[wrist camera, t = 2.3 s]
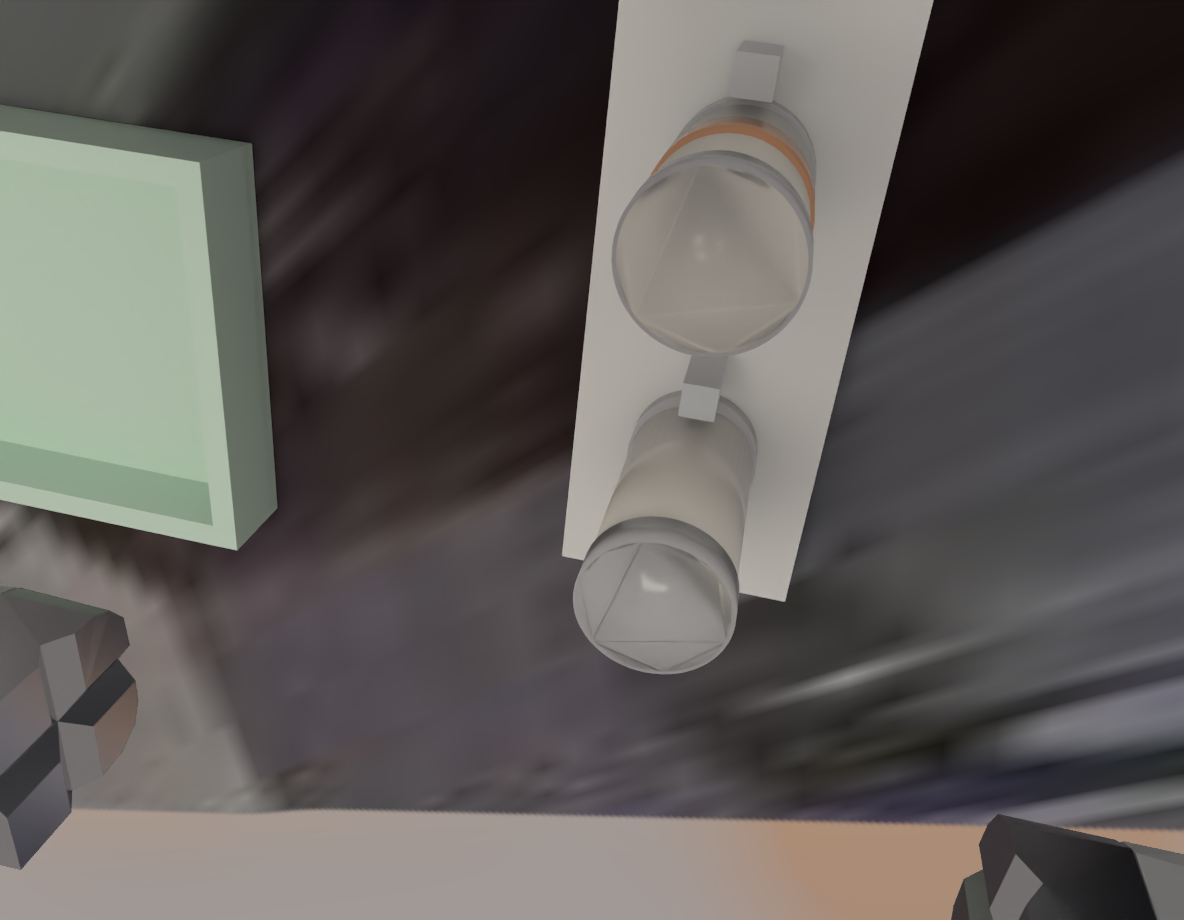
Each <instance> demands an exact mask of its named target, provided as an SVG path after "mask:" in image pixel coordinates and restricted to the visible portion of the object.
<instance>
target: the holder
mask: <svg viewBox="0 0 1184 920" xmlns="http://www.w3.org/2000/svg"><path fill="white" fill-rule="evenodd" d="M932 4H933V0H619V7H618V16H617V26H616V36H615V45H614V55H613V65H612V75H611V84H610V94H609V104H608V114H607V123H606V133H605V143H604V152H603V162H602V172H601V182H600V191H599V201H598V211H597V221H596V230H595V240H594V250H593V259H592V269H591V279H590V289H589V298H588V308H587V318H586V328H585V337H584V347H583V357H582V366H581V376H580V386H579V396H578V405H577V415H576V425H575V435H574V444H573V454H572V464H571V473H570V483H569V493H568V503H567V512H566V522H565V532H564V542H563V551H562V556H565V557H569V558H574V559H579V560H584V559H585V556H586V554H587V551H588V550H589V548H590V546H591V545H592V543H593V542H594V541H595V540H596V537H597V534H598V532H599V529H600V526H601V524H602V521H603V518H604V516H605V513H606V510H607V508H608V505H609V503H610V500H611V497H612V495H613V492H614V489H615V487H616V484H617V481H618V479H619V476H620V473H621V471H622V468H623V466H624V463H625V460H626V458H627V451H628V446H629V442H630V439H631V437H632V434H633V431H634V429H635V426H636V424H637V421H638V419H639V418H640V416H641V414H642V413H643V412H644V410H645V409H646V408H647V407H648V406H649V405H650V404H651V403H653V402H654V401H655V400H657V399H658V398H660V397H662V396H664V395H666V394H669V393H672V392H676V391H680V390H682V393H681V400H680V406H679V412H678V416H681V417H687V418H692V419H698V420H703V421H708V422H714V420H715V416H716V412H717V407H718V403H719V398H720V396H722V397H724V398H726V399H728V400H730V401H731V402H733V403H734V404H735V405H736V406H738V407H739V408H740V409H741V410H742V411H743V412H744V413H745V415H746V416H747V417H748V419H749V420H750V422H751V424H752V426H753V428H754V430H755V434H756V437H757V443H758V454H757V461H756V469H755V475H754V479H753V482H752V484H751V486H750V492H749V500H748V507H747V515H746V522H745V529H744V537H743V544H742V552H741V559H740V566H739V574H738V579H739V590H740V593H744V594H749V595H754V596H759V597H764V598H769V599H774V600H779V601H783V602H785V599H786V595H787V591H788V587H789V583H790V579H791V575H792V571H793V567H794V563H795V559H796V555H797V551H798V547H799V543H800V539H801V535H802V531H803V527H804V522H805V518H806V514H807V510H808V506H809V502H810V498H811V494H812V490H813V486H814V482H815V478H816V474H817V470H818V466H819V462H820V458H821V454H822V450H823V446H824V442H825V437H826V433H827V429H828V425H829V421H830V417H831V413H832V409H833V405H834V401H835V397H836V393H837V389H838V385H839V381H840V377H841V373H842V369H843V365H844V361H845V357H846V352H847V348H848V344H849V340H850V336H851V332H852V328H853V324H854V320H855V316H856V312H857V308H858V304H859V300H860V296H861V292H862V288H863V284H864V280H865V276H866V272H867V267H868V263H869V259H870V255H871V251H872V247H873V243H874V239H875V235H876V231H877V227H878V223H879V219H880V215H881V211H882V207H883V203H884V199H885V195H886V191H887V187H888V182H889V178H890V174H891V170H892V166H893V162H894V158H895V154H896V150H897V146H898V142H899V138H900V134H901V130H902V126H903V122H904V118H905V114H906V110H907V106H908V101H909V97H910V93H911V89H912V85H913V81H914V77H915V73H916V69H917V65H918V61H919V57H920V53H921V49H922V45H923V41H924V37H925V33H926V29H927V25H928V21H929V16H930V12H931V8H932ZM727 97H734V98H741V99H748V100H756V101H763V102H770V103H772V101H775V102H777V103H779V104H781V105H783V106H784V107H785V108H787V109H788V110H790V111H791V112H792V113H793V114H794V115H795V116H796V117H797V118H798V119H799V120H800V122H801V123H802V124H803V125H804V127H805V129H806V130H807V132H808V134H809V136H810V138H811V141H812V143H813V147H814V151H815V156H816V184H815V222H814V229H813V239H814V247H813V270H812V276H811V282H810V285H809V288H808V292H807V294H806V297H805V299H804V301H803V303H802V305H801V307H800V308H799V310H798V312H797V313H796V315H795V316H794V318H793V319H792V320H791V321H790V322H789V324H788V325H787V326H786V327H785V328H784V329H783V330H782V331H781V332H780V333H779V334H777V335H776V336H775V337H773V338H772V339H770V340H769V341H768V342H766V343H764V344H762V345H761V346H759V347H757V348H755V349H752V350H749V351H747V352H744V353H740V354H737V355H733V356H726V357H700V356H693V355H689V354H685V353H681V352H678V351H676V350H673V349H671V348H669V347H667V346H665V345H663V344H661V343H659V342H658V341H656V340H655V339H653V338H652V337H650V336H649V335H648V334H647V333H646V332H645V331H643V330H642V329H641V328H640V327H639V326H638V325H637V323H636V322H635V321H634V320H633V319H632V318H631V316H630V315H629V313H628V312H627V310H626V309H625V307H624V305H623V303H622V301H621V299H620V297H619V295H618V292H617V289H616V286H615V283H614V278H613V273H612V262H611V257H612V245H613V239H614V234H615V231H616V228H617V225H618V222H619V220H620V218H621V216H622V214H623V212H624V210H625V209H626V207H627V205H628V204H629V202H630V201H631V199H632V198H633V197H634V195H635V194H636V193H637V191H638V190H639V188H640V187H641V186H642V185H643V184H644V183H645V181H646V180H647V179H648V178H649V177H650V174H651V173H652V171H653V170H654V168H655V167H656V165H657V164H658V162H659V161H660V160H661V158H662V157H663V155H664V154H665V153H666V151H667V150H668V149H669V148H670V146H671V145H672V144H673V143H674V142H675V140H676V138H677V137H678V135H679V134H680V132H681V131H682V129H683V128H684V127H685V125H686V124H687V123H688V122H689V121H690V119H691V118H692V117H693V116H694V115H696V114H697V113H698V112H699V111H700V110H702V109H703V108H705V107H706V106H708V105H710V104H711V103H713V102H715V101H718V100H721V99H724V98H727Z"/></svg>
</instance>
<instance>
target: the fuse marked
mask: <svg viewBox="0 0 1184 920" xmlns="http://www.w3.org/2000/svg"><path fill="white" fill-rule="evenodd" d="M815 184H816V156H815V151H814V147H813V143H812V141H811V138H810V136H809V134H808V132H807V130H806V129H805V127H804V125H803V124H802V123H801V122H800V120H799V119H798V118H797V117H796V116H795V115H794V114H793V113H792V112H791V111H790V110H788V109H787V108H785V107H784V106H783V105H781V104H779V103H777V102H775V101H772V103H770V102H763V101H756V100H748V99H741V98H734V97H727V98H724V99H721V100H718V101H715V102H713V103H711V104H710V105H708V106H706V107H705V108H703V109H702V110H700V111H699V112H698V113H697V114H696V115H694V116H693V117H692V118H691V119H690V121H689V122H688V123H687V124H686V125H685V127H684V128H683V129H682V131H681V132H680V134H679V135H678V137H677V138H676V140H675V142H674V143H673V144H672V145H671V146H670V148H669V149H668V150H667V151H666V153H665V154H664V155H663V157H662V158H661V160H660V161H659V162H658V164H657V165H656V167H655V168H654V170H653V171H652V173H651V174H650V177H649V178H648V179H647V180H646V181H645V183H644V184H643V185H642V186H641V187H640V188H639V190H638V191H637V193H636V194H635V195H634V197H633V198H632V199H631V201H630V202H629V204H628V205H627V207H626V209H625V210H624V212H623V214H622V216H621V218H620V220H619V222H618V225H617V228H616V231H615V234H614V239H613V245H612V257H611V262H612V273H613V278H614V283H615V286H616V289H617V292H618V295H619V297H620V299H621V301H622V303H623V305H624V307H625V309H626V310H627V312H628V313H629V315H630V316H631V318H632V319H633V320H634V321H635V322H636V323H637V325H638V326H639V327H640V328H641V329H642V330H643V331H645V332H646V333H647V334H648V335H649V336H650V337H652V338H653V339H655V340H656V341H658V342H659V343H661V344H663V345H665V346H667V347H669V348H671V349H673V350H676V351H678V352H681V353H685V354H689V355H693V356H700V357H726V356H733V355H737V354H740V353H744V352H747V351H749V350H752V349H755V348H757V347H759V346H761V345H762V344H764V343H766V342H768V341H769V340H770V339H772V338H773V337H775V336H776V335H777V334H779V333H780V332H781V331H782V330H783V329H784V328H785V327H786V326H787V325H788V324H789V322H790V321H791V320H792V319H793V318H794V316H795V315H796V313H797V312H798V310H799V308H800V307H801V305H802V303H803V301H804V299H805V297H806V294H807V292H808V288H809V285H810V282H811V276H812V270H813V247H814V239H813V229H814V222H815Z"/></svg>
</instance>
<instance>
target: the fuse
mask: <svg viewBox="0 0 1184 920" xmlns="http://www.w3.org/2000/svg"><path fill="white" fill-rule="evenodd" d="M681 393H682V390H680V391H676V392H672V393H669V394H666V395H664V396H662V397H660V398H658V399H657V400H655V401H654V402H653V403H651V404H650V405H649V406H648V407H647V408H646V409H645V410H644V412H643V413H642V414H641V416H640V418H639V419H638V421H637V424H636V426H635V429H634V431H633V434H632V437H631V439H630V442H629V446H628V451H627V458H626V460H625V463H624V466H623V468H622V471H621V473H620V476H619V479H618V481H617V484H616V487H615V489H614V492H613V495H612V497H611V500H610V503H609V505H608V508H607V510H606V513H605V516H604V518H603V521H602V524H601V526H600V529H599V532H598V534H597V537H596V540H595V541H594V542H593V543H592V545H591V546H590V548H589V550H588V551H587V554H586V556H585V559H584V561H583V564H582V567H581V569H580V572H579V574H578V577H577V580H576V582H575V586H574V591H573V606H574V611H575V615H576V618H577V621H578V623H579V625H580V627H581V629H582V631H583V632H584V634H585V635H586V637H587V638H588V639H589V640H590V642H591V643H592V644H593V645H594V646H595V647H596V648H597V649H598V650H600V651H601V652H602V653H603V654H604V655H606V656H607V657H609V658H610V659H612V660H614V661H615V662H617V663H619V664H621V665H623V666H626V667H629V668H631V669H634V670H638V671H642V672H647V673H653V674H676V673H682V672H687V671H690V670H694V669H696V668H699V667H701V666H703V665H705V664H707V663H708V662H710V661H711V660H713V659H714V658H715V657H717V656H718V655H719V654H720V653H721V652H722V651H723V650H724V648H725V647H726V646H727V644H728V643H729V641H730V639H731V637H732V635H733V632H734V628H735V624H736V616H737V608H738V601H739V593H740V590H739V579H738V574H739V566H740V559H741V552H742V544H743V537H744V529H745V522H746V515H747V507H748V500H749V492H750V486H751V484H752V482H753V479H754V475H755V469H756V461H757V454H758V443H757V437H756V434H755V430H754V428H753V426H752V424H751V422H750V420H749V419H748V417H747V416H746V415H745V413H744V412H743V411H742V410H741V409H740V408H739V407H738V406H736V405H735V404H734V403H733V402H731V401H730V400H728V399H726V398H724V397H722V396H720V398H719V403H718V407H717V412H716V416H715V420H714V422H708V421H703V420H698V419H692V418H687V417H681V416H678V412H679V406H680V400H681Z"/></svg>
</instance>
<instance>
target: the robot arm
mask: <svg viewBox="0 0 1184 920" xmlns="http://www.w3.org/2000/svg"><path fill="white" fill-rule="evenodd" d="M129 645H130V644H129V640H128V635H127V630H126V626H125V621H124V618H123V617H121V616H119V615H117V614H115V613H113V612H111V611H109V610H105V609H101V608H98V607H94V606H90V605H86V604H82V603H78V602H74V601H70V600H67V599H63V598H59V597H55V596H51V595H47V594H43V593H39V592H35V591H32V590H28V589H24V588H15V587H12V586H8V585H4V584H0V865H3V866H7V867H11V868H15V869H20V870H21V869H22V868H23V867H24V866H25V865H26V863H27V862H28V861H29V860H30V859H31V858H32V856H33V855H34V854H35V853H36V852H37V851H38V850H39V848H40V847H41V846H42V845H43V844H44V843H45V842H46V840H47V839H48V838H49V837H50V836H51V835H52V834H53V833H54V831H55V830H56V829H57V828H58V827H59V826H60V825H61V823H62V822H63V821H64V820H65V819H66V818H67V817H68V815H69V814H70V813H71V805H72V790H74V789H76V788H78V787H80V786H82V785H84V784H87V783H89V782H91V781H93V780H95V779H97V778H100V777H102V776H103V775H104V774H105V773H106V771H107V770H108V769H109V768H110V767H111V765H112V764H113V763H114V762H115V761H116V759H117V758H118V757H119V756H120V755H121V753H122V752H123V750H124V747H125V745H126V743H127V741H128V739H129V736H130V734H131V732H132V730H133V728H134V725H135V723H136V715H137V707H138V694H137V688H136V681H135V680H134V678H133V677H132V676H131V675H130V673H129V672H128V671H127V670H126V668H125V667H124V666H123V665H122V663H121V662H120V661H119V660H118V659H119V658H120V656H121V655H122V654H123V653H124V652H125V650H126V649H127V648H128V647H129ZM979 847H980V853H981V859H982V865H983V870H981V871H979V872H977V873H975V874H973V875H971V876H969V877H967V878H965V879H964V880H963V883H962V885H961V888H960V891H959V893H958V896H957V898H956V901H955V904H954V906H953V913H952V919H951V920H1184V854H1180V853H1175V852H1170V851H1166V850H1161V849H1157V848H1152V847H1147V846H1143V845H1138V844H1133V843H1129V842H1118V841H1116V840H1114V839H1109V838H1105V837H1100V836H1095V835H1091V834H1086V833H1082V832H1077V831H1073V830H1068V829H1064V828H1059V827H1055V826H1050V825H1046V824H1041V823H1037V822H1032V821H1027V820H1023V819H1018V818H1014V817H1009V816H1005V815H1000V814H998V815H997V816H996V817H995V818H994V819H993V820H992V821H991V822H990V823H988V825H987V828H986V830H985V832H984V834H983V836H982V839H981V841H980V843H979Z"/></svg>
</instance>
